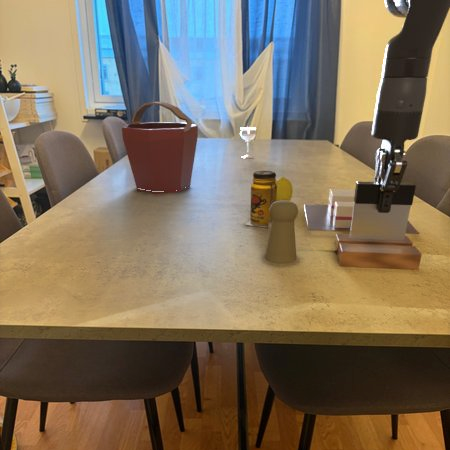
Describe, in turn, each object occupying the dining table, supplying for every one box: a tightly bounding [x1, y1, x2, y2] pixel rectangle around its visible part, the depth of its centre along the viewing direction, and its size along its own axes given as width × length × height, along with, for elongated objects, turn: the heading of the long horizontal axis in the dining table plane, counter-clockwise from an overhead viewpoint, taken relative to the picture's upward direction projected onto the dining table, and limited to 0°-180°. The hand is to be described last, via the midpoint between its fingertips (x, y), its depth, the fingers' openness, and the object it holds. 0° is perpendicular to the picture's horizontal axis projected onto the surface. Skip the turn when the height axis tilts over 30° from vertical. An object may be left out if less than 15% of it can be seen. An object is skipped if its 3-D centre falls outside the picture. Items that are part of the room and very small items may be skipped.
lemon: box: [276, 176, 294, 201], centre depth 116 cm, size 6×6×8 cm
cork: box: [264, 200, 299, 265], centre depth 82 cm, size 6×6×11 cm
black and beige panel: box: [349, 181, 417, 241], centre depth 80 cm, size 10×2×11 cm, turn 83°
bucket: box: [121, 101, 199, 195], centre depth 132 cm, size 24×22×25 cm
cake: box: [327, 188, 355, 216], centre depth 107 cm, size 12×7×5 cm, turn 83°
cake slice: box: [333, 202, 354, 228], centre depth 98 cm, size 12×4×5 cm, turn 83°
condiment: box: [244, 170, 277, 228], centre depth 102 cm, size 7×8×12 cm
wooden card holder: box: [334, 233, 422, 271], centre depth 83 cm, size 14×10×3 cm
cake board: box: [303, 204, 420, 235], centre depth 105 cm, size 24×22×1 cm
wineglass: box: [239, 126, 257, 159], centre depth 188 cm, size 7×7×12 cm
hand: (381, 209), depth 80 cm, fingers closed on black and beige panel, 2 cm apart
